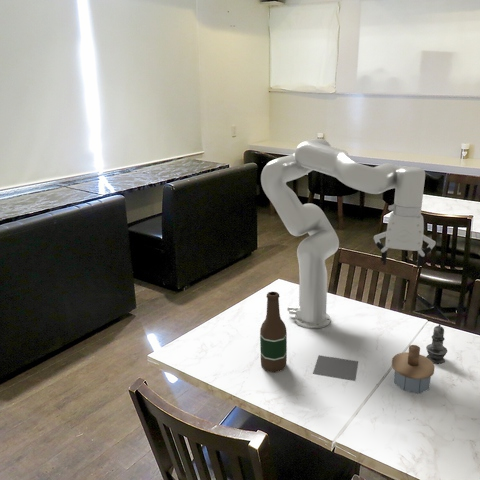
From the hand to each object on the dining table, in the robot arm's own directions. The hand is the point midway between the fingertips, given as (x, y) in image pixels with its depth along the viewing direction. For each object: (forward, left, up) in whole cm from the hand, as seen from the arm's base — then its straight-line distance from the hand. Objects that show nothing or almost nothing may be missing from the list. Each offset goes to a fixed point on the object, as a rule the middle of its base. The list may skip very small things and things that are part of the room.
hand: (401, 265), depth 137 cm
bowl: (+5, -19, -28) cm, 34 cm away
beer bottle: (-34, -22, -28) cm, 49 cm away
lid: (+5, -19, -23) cm, 30 cm away
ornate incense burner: (+12, -5, -28) cm, 31 cm away
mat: (-16, -18, -28) cm, 36 cm away
